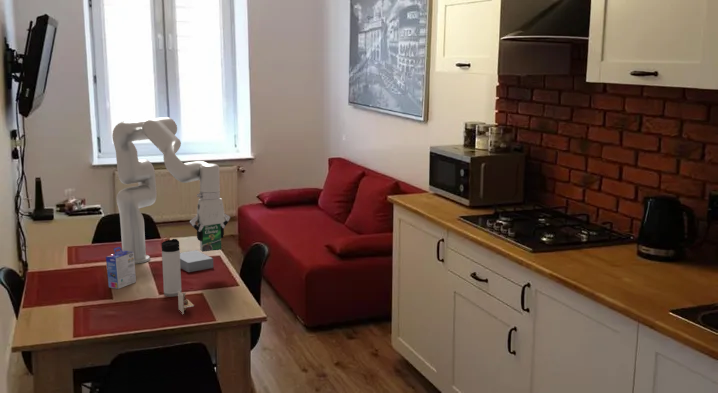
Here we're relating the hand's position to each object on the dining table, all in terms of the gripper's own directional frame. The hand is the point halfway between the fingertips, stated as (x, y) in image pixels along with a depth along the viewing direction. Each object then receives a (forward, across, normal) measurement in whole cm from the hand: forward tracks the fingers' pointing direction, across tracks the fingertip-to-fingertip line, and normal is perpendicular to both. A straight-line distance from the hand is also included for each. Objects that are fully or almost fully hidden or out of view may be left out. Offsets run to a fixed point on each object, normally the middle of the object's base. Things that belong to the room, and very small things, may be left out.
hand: (210, 238), depth 286 cm
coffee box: (+5, 0, 0) cm, 5 cm away
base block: (+15, 0, +17) cm, 23 cm away
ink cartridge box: (+16, -33, +9) cm, 37 cm away
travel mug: (+15, -22, -13) cm, 29 cm away
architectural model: (+15, -26, -33) cm, 45 cm away
